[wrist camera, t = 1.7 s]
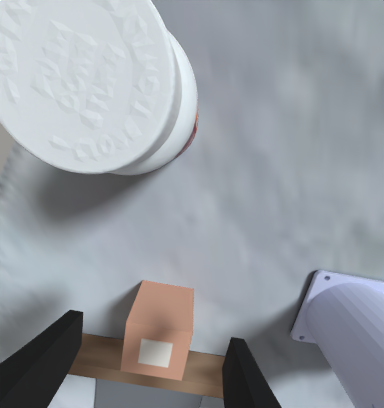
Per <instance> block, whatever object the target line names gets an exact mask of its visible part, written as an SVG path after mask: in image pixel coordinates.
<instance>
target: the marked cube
mask: <svg viewBox="0 0 384 408" xmlns="http://www.w3.org/2000/svg"><path fill="white" fill-rule="evenodd" d="M193 306H194V289H191V288H185V287H180V286H174V285H168V284H162V283H156V282H151V281H145V280H143V281H142V283H141V286H140V289H139V291H138V294H137V296H136V299H135V301H134V304H133V306H132V309H131V311H130V314H129V316H128V319H127V321H126V328H125V337H124V345H123V353H122V362H121V370H120V371H124V372H130V373H136V374H143V375H149V376H155V377H162V378H168V379H174V380H181V381H182V377H183V373H184V369H185V364H186V360H187V356H188V352H189V347H190V343H191V339H192V335H193Z"/></svg>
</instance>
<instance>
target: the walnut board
mask: <svg viewBox="0 0 384 408" xmlns="http://www.w3.org/2000/svg"><path fill="white" fill-rule="evenodd" d="M123 345H124V340H120V339H113V338H107V337H101V336H95V335H89V334H83V333H82V345H81V347H80V349H79V351H78V354H77V356H76V358H75V360H74V362H73V364H72V366H71V368H70V370H69V372H68V374H71V375H77V376H84V377H90V378H96V379H103V380H109V381H116V382H122V383H128V384H135V385H141V386H147V387H154V388H160V389H166V390H173V391H179V392H186V393H192V394H198V395H205V396H211V397H217V398H223V383H222V366H223V363H224V360H225V357H224V356H218V355H212V354H206V353H200V352H193V351H189V352H188V356H187V360H186V364H185V369H184V373H183V377H182V381H181V380H174V379H168V378H162V377H155V376H149V375H143V374H136V373H130V372H124V371H120V370H121V362H122V353H123Z"/></svg>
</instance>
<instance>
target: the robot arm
mask: <svg viewBox="0 0 384 408" xmlns="http://www.w3.org/2000/svg"><path fill="white" fill-rule="evenodd" d="M326 276H327V277H326ZM325 277H326V278H325ZM82 327H83V312H80V311H74V310H69V311H68V312H67V313H65V314H64V315H63V316H62V317H60V318H59V319H58V320H57V321H56V322H54V323H53V324H52V325H51V326H49V327H48V328H47V329H46V330H44V331H43V332H42V333H41V334H39V335H38V336H37V337H35V338H34V339H33V340H32V341H30V342H29V343H28V344H26V345H25V346H24V347H22V348H21V349H20V350H18V351H17V352H16V353H14V354H13V355H12V356H10V357H9V358H7V359H6V360H5V361H3V362H2V363H0V408H47V407H48V405H49V404H50V402H51V400H52V399H53V397H54V395H55V394H56V392H57V390H58V389H59V387H60V385H61V384H62V382H63V380H64V379H65V377H66V375H67V374H68V372H69V370H70V368H71V366H72V364H73V362H74V360H75V358H76V356H77V354H78V351H79V349H80V347H81V345H82ZM291 337H292V339H293V340H296V341H302V342H308V343H314V344H318V346H319V348H320V349H321V351H322V353H323V354H324V356H325V358H326V359H327V361H328V363H329V364H330V366H331V368H332V369H333V371H334V373H335V374H336V376H337V378H338V379H339V381H340V383H341V385H342V386H343V388H344V390H345V391H346V393H347V395H348V396H349V398H350V400H351V401H352V403H353V405H354V406H355V408H384V281H379V280H374V279H368V278H362V277H357V276H351V275H345V274H340V273H334V272H328V271H323V270H319V271H317V272H316V273H315V274H314V277H313V279H312V282H311V284H310V287H309V289H308V292H307V294H306V296H305V299H304V301H303V304H302V306H301V309H300V311H299V314H298V316H297V319H296V321H295V324H294V326H293V329H292V331H291ZM222 383H223V398H224V406H225V408H282V407H281V406H280V404H279V402H278V401H277V399H276V397H275V396H274V394H273V392H272V390H271V389H270V387H269V385H268V383H267V382H266V380H265V378H264V376H263V374H262V373H261V371H260V369H259V367H258V365H257V363H256V361H255V359H254V358H253V356H252V354H251V352H250V350H249V348H248V346H247V344H246V342H245V340H244V339H239V338H234V337H231V340H230V343H229V347H228V350H227V353H226V356H225V360H224V363H223V366H222Z"/></svg>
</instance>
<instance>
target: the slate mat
mask: <svg viewBox="0 0 384 408" xmlns="http://www.w3.org/2000/svg"><path fill="white" fill-rule="evenodd" d="M202 396H203V395H198V394H192V393H186V392H179V391H173V390H166V389H160V388H154V387H147V386H141V385H135V384H128V383H122V382H116V381H109V380H103V379H97V385H96V399H95V408H199V407H200V403H201V399H202Z"/></svg>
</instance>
